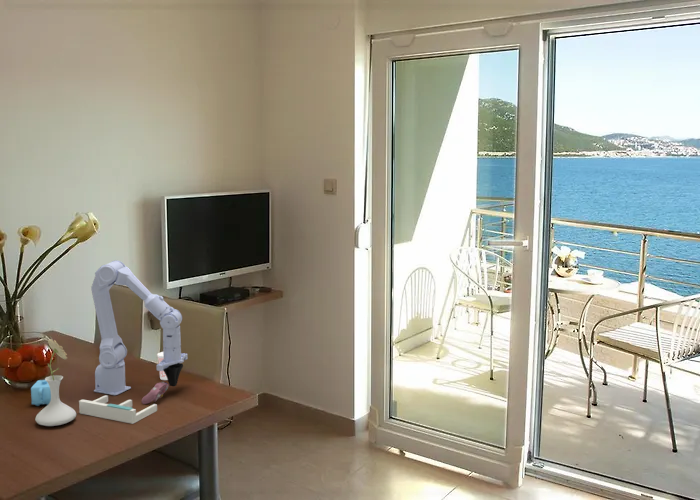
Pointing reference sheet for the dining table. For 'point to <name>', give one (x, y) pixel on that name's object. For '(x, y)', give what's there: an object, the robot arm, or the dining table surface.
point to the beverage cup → (162, 373)
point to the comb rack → (114, 410)
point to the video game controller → (155, 393)
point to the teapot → (40, 393)
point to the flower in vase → (55, 397)
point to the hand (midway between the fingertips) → (173, 385)
